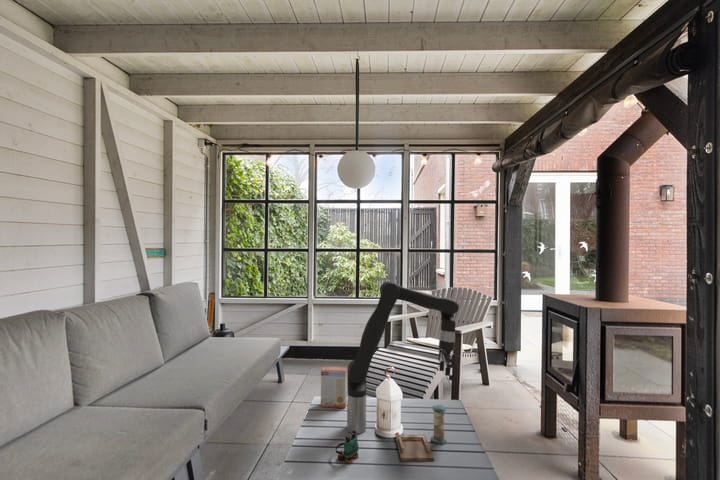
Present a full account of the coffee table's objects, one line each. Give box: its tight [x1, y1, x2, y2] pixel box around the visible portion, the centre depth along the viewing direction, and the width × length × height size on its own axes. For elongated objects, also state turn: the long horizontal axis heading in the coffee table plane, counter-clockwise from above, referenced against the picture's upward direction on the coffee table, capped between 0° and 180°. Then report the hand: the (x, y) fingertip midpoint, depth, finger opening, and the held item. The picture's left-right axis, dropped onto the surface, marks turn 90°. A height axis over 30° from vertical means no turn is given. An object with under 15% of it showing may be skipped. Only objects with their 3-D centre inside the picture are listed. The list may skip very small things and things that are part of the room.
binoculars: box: [335, 431, 360, 464], centre depth 167 cm, size 9×11×10 cm
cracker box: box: [320, 366, 348, 409], centre depth 219 cm, size 14×6×21 cm, turn 84°
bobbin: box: [430, 404, 447, 445], centre depth 182 cm, size 7×7×15 cm
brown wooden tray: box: [395, 434, 435, 462], centre depth 175 cm, size 14×20×3 cm
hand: (444, 373), depth 193 cm, fingers open, 8 cm apart
